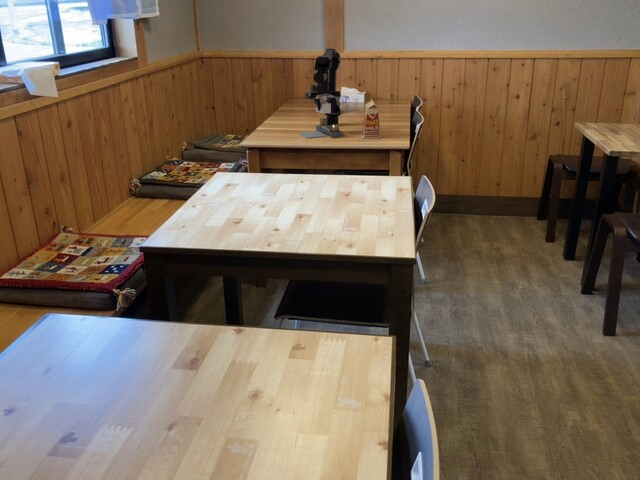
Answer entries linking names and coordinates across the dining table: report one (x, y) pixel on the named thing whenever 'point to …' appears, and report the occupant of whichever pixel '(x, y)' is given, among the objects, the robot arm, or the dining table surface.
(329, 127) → the hand plane
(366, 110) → the milk carton
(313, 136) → the rubber mat
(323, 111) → the grey metal block
